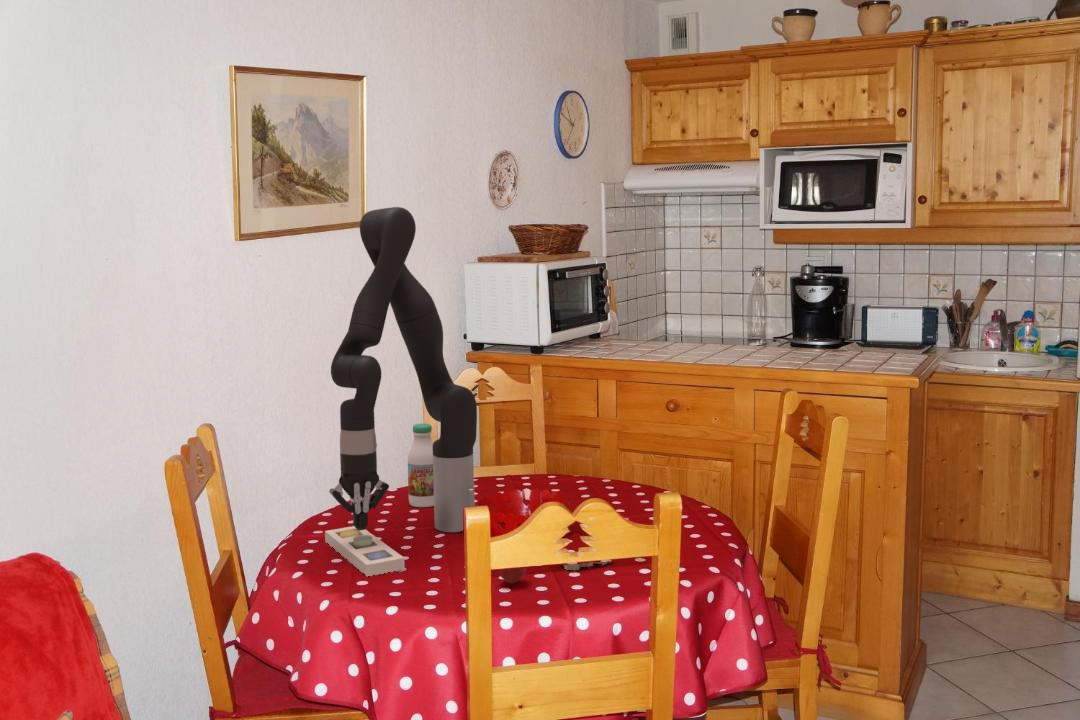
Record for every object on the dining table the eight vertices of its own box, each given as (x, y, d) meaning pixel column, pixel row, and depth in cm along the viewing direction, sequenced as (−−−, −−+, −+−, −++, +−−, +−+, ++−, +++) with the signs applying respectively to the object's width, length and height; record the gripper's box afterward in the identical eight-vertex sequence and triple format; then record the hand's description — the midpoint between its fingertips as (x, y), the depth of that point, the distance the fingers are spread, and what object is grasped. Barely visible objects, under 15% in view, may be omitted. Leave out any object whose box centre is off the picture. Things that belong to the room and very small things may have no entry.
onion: (523, 590, 201) (522, 550, 200) (494, 588, 202) (493, 548, 201) (529, 579, 207) (529, 540, 206) (501, 577, 208) (500, 539, 207)
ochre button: (355, 537, 232) (354, 529, 232) (361, 542, 229) (361, 533, 229) (337, 540, 231) (337, 532, 230) (343, 545, 227) (343, 536, 227)
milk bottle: (406, 501, 263) (403, 423, 260) (436, 498, 265) (434, 420, 263) (412, 509, 256) (409, 429, 253) (443, 506, 258) (440, 426, 255)
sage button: (368, 542, 225) (368, 533, 225) (375, 548, 222) (375, 538, 221) (350, 546, 223) (350, 537, 223) (357, 551, 220) (357, 542, 219)
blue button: (383, 559, 218) (383, 550, 218) (390, 564, 214) (390, 555, 214) (365, 562, 216) (364, 553, 216) (372, 568, 212) (371, 559, 212)
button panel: (359, 535, 236) (359, 525, 235) (404, 569, 213) (404, 557, 213) (325, 542, 232) (324, 531, 231) (367, 576, 209) (366, 564, 209)
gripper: (381, 442, 226) (383, 520, 228) (322, 449, 219) (324, 529, 222) (394, 449, 219) (396, 529, 222) (333, 456, 213) (336, 538, 215)
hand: (360, 529), depth 222 cm, fingers closed
